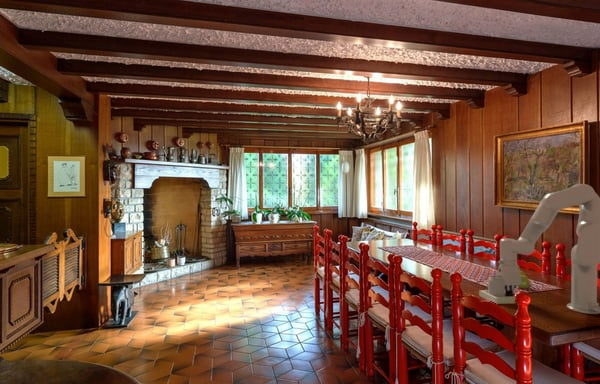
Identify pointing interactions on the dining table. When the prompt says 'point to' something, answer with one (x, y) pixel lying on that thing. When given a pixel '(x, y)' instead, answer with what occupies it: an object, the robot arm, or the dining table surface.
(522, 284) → the dumbbell
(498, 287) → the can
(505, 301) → the pale green shallow tray
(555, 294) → the dining table surface
